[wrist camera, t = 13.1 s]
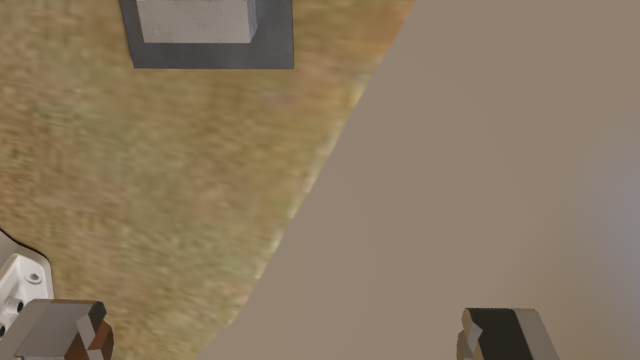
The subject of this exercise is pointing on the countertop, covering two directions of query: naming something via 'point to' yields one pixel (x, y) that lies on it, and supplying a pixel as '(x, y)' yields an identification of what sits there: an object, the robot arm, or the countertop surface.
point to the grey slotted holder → (210, 34)
